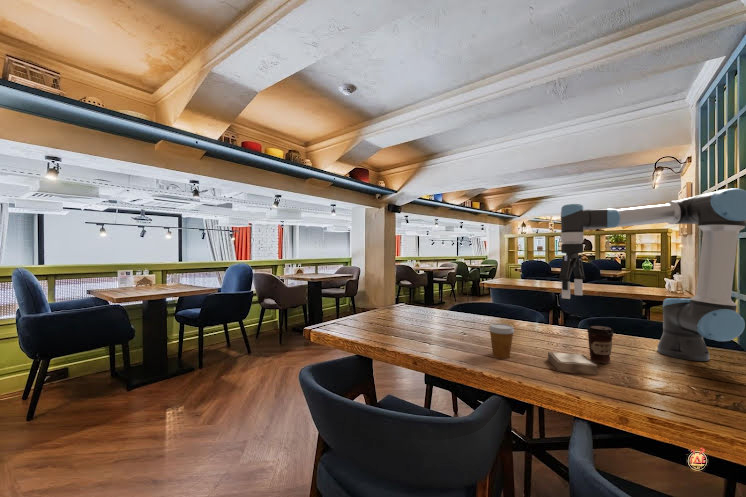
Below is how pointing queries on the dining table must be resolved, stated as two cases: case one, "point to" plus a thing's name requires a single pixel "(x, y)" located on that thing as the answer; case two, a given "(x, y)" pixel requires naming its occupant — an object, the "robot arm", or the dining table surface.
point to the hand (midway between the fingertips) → (572, 296)
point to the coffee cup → (600, 343)
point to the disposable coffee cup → (501, 340)
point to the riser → (572, 363)
